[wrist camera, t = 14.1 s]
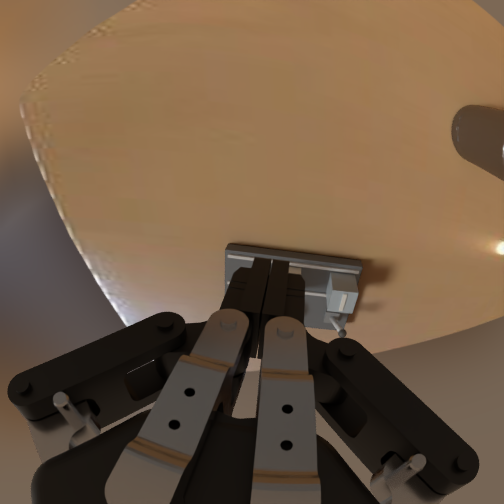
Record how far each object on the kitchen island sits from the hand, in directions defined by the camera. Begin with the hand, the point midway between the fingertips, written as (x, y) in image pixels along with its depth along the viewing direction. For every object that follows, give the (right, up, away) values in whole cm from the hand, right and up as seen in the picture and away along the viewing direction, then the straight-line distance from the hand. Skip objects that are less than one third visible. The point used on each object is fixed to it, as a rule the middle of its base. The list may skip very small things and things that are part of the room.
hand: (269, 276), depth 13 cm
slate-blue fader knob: (+14, -4, +35) cm, 37 cm away
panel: (+6, -5, +39) cm, 40 cm away
